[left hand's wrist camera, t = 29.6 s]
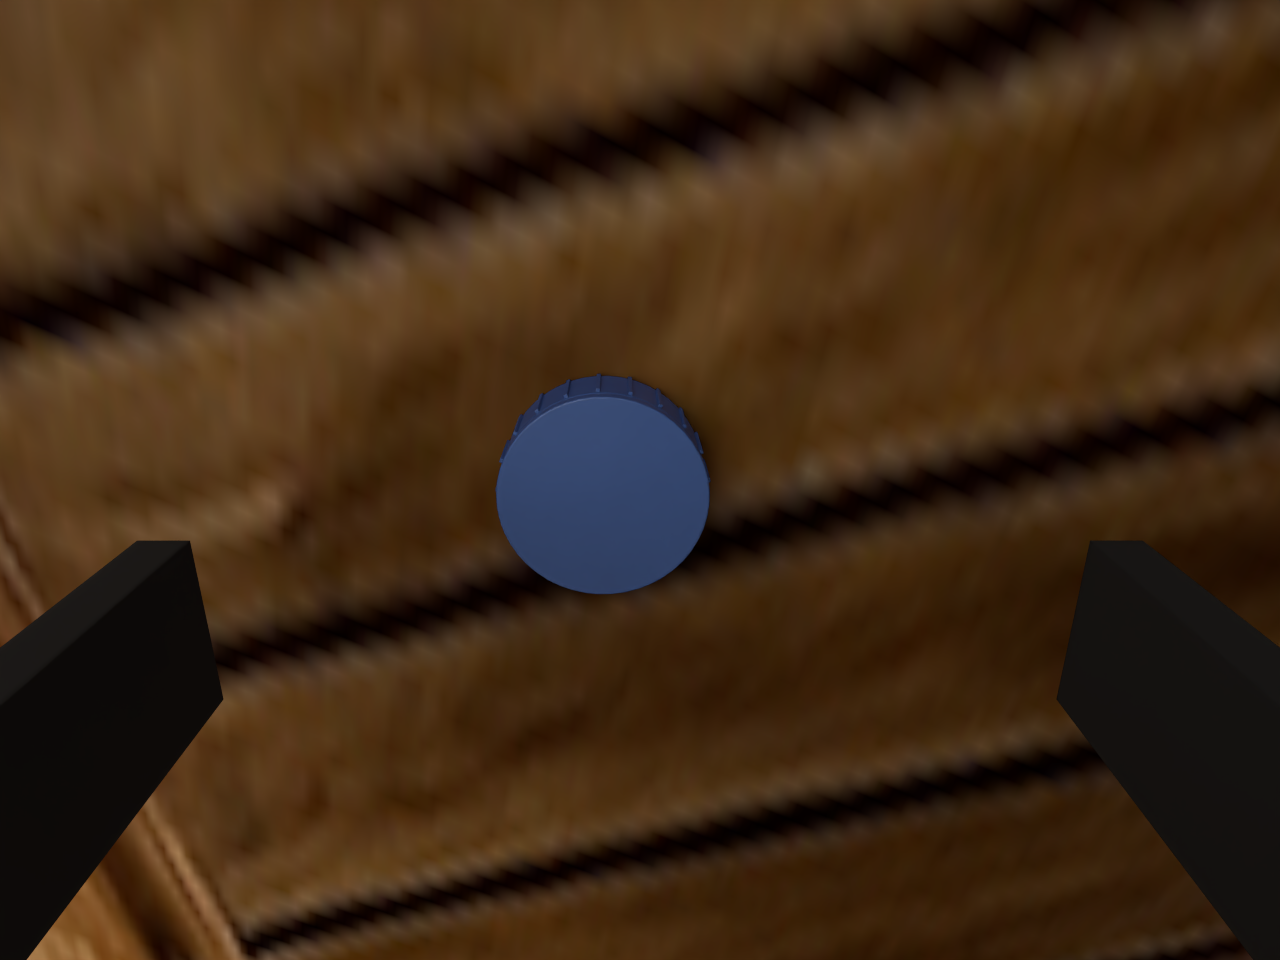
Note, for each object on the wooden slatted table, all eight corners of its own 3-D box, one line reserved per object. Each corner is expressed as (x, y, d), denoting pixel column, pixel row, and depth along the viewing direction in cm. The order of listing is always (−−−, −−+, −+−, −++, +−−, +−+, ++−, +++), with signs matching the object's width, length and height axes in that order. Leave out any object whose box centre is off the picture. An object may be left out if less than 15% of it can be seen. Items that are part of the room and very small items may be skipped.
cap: (724, 392, 19) (734, 415, 17) (681, 574, 20) (688, 611, 18) (519, 355, 18) (509, 375, 16) (492, 544, 20) (481, 579, 18)
